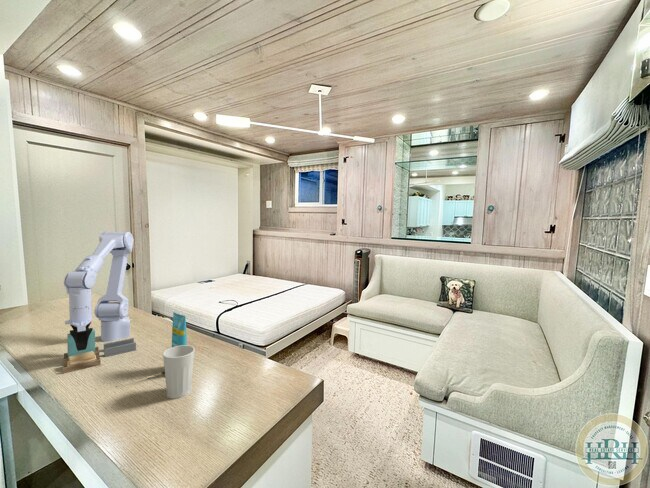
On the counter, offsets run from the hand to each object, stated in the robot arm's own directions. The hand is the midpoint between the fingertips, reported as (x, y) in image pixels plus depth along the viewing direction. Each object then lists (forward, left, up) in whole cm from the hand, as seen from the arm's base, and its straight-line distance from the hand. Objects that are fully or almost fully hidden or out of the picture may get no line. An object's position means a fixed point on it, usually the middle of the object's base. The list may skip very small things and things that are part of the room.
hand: (81, 345), depth 95 cm
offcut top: (0, +6, -3) cm, 7 cm away
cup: (-21, +39, -6) cm, 44 cm away
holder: (-11, 0, -5) cm, 12 cm away
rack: (0, +2, -5) cm, 6 cm away
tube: (-24, +27, -6) cm, 36 cm away
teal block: (0, 0, -4) cm, 4 cm away
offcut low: (0, +6, -4) cm, 7 cm away
